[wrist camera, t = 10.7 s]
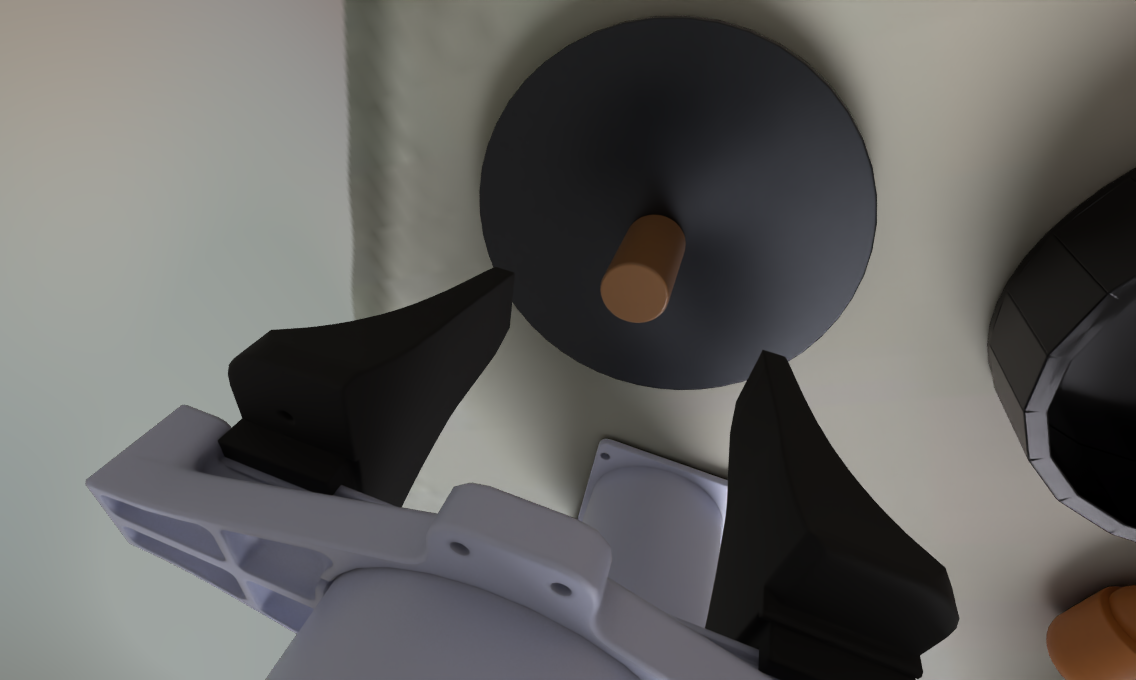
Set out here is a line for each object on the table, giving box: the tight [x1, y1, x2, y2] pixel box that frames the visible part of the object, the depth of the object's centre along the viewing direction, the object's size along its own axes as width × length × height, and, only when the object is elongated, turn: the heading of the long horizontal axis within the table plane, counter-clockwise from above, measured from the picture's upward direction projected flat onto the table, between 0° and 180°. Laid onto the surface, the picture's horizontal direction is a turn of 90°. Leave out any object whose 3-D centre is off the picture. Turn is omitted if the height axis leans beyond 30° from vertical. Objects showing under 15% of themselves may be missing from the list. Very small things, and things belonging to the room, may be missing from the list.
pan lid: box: [480, 16, 877, 390], centre depth 19 cm, size 14×14×5 cm
